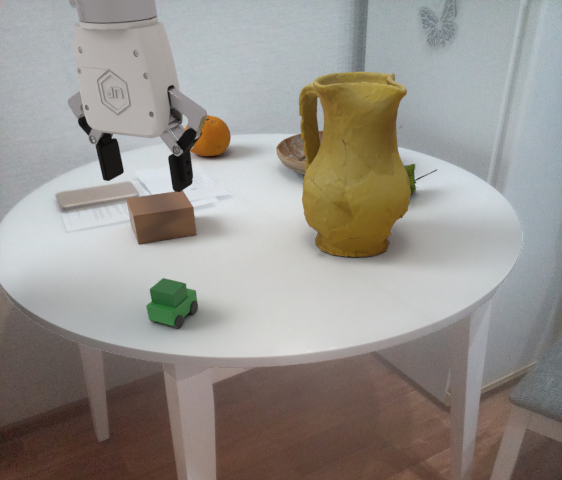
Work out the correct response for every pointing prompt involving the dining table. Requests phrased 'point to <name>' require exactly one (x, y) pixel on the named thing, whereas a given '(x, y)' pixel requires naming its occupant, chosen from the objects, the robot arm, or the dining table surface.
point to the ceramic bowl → (293, 153)
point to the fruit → (212, 138)
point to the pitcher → (353, 162)
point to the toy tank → (411, 176)
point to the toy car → (171, 302)
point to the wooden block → (161, 216)
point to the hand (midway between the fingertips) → (147, 182)
